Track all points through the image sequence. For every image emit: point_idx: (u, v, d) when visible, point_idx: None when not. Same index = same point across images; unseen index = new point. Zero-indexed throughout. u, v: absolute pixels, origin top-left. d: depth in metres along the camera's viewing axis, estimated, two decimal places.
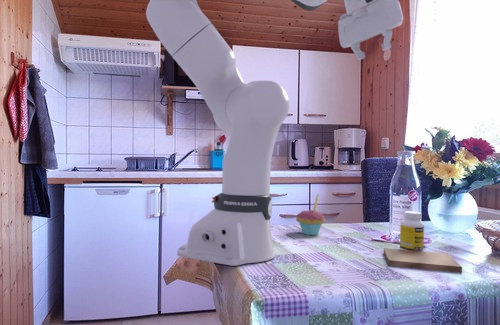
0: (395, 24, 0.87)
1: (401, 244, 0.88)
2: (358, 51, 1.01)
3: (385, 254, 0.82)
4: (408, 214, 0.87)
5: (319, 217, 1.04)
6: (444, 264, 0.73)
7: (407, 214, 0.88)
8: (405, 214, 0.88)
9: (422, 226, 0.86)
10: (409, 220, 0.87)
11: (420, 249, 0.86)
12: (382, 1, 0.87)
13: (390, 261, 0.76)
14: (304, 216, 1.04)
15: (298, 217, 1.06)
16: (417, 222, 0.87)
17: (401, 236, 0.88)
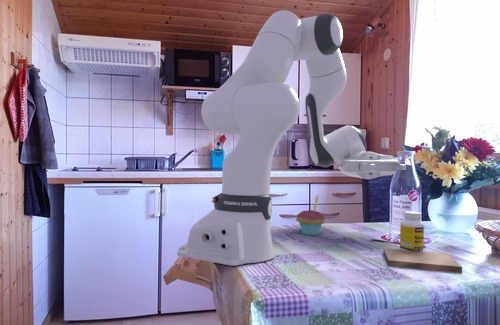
0: None
1: (401, 244, 0.88)
2: None
3: (385, 254, 0.82)
4: (408, 214, 0.87)
5: (319, 217, 1.04)
6: (444, 264, 0.73)
7: (407, 214, 0.88)
8: (405, 214, 0.88)
9: (422, 226, 0.86)
10: (409, 220, 0.87)
11: (420, 249, 0.86)
12: (395, 158, 1.12)
13: (390, 261, 0.76)
14: (304, 216, 1.04)
15: (298, 217, 1.06)
16: (417, 222, 0.87)
17: (401, 236, 0.88)
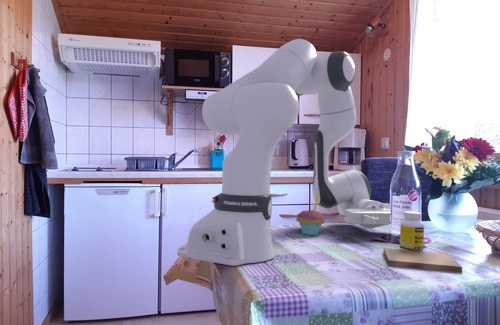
0: None
1: (401, 244, 0.88)
2: None
3: (385, 254, 0.82)
4: (408, 214, 0.87)
5: (319, 217, 1.04)
6: (444, 264, 0.73)
7: (407, 214, 0.88)
8: (405, 214, 0.88)
9: (422, 226, 0.86)
10: (409, 220, 0.87)
11: (420, 249, 0.86)
12: None
13: (390, 261, 0.76)
14: (304, 216, 1.04)
15: (298, 217, 1.06)
16: (417, 222, 0.87)
17: (401, 236, 0.88)
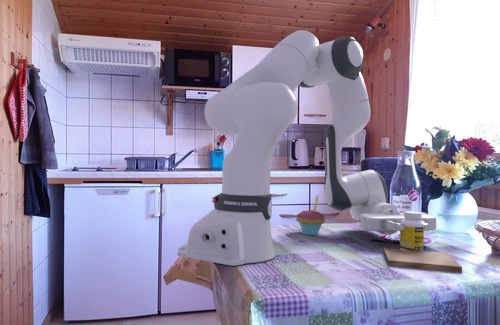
0: None
1: (401, 244, 0.88)
2: None
3: (385, 254, 0.82)
4: (408, 214, 0.87)
5: (319, 217, 1.04)
6: (444, 264, 0.73)
7: (407, 214, 0.88)
8: (405, 214, 0.88)
9: (422, 226, 0.86)
10: (409, 220, 0.87)
11: (420, 249, 0.86)
12: None
13: (390, 261, 0.76)
14: (304, 216, 1.04)
15: (298, 217, 1.06)
16: (417, 221, 0.87)
17: (401, 236, 0.88)
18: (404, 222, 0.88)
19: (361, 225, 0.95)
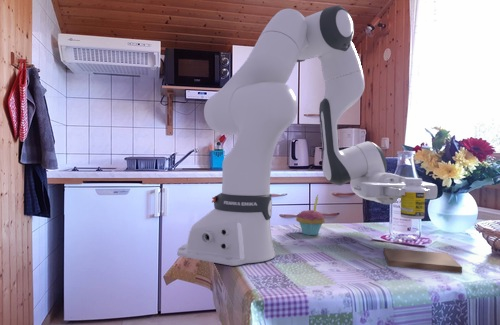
0: None
1: (402, 210, 0.88)
2: None
3: (385, 254, 0.82)
4: (409, 180, 0.87)
5: (319, 217, 1.04)
6: (444, 264, 0.73)
7: (408, 180, 0.87)
8: (406, 180, 0.87)
9: (423, 191, 0.86)
10: (410, 186, 0.87)
11: (421, 214, 0.85)
12: None
13: (390, 261, 0.76)
14: (304, 216, 1.04)
15: (298, 217, 1.06)
16: (417, 187, 0.86)
17: (402, 203, 0.88)
18: (405, 188, 0.87)
19: (361, 193, 0.94)
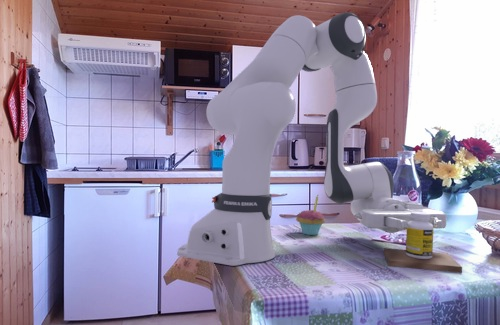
0: (446, 217, 0.84)
1: (408, 249, 0.79)
2: None
3: (385, 254, 0.82)
4: (415, 215, 0.78)
5: (319, 217, 1.04)
6: (444, 264, 0.73)
7: (414, 215, 0.78)
8: (412, 215, 0.79)
9: (431, 228, 0.77)
10: (417, 222, 0.78)
11: (429, 254, 0.77)
12: (426, 207, 0.90)
13: (390, 261, 0.76)
14: (304, 216, 1.04)
15: (298, 217, 1.06)
16: (425, 223, 0.77)
17: (408, 240, 0.79)
18: (411, 224, 0.78)
19: (363, 222, 0.85)
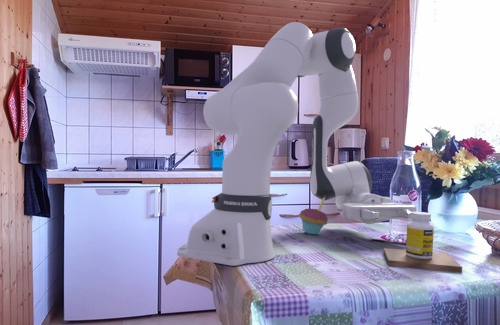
0: None
1: (408, 248, 0.79)
2: None
3: (385, 254, 0.82)
4: (416, 215, 0.78)
5: (322, 218, 1.04)
6: (444, 264, 0.73)
7: (415, 215, 0.78)
8: (412, 215, 0.79)
9: (431, 228, 0.77)
10: (417, 222, 0.78)
11: (429, 254, 0.77)
12: None
13: (390, 261, 0.76)
14: (308, 214, 1.04)
15: (301, 214, 1.06)
16: (425, 223, 0.77)
17: (408, 240, 0.79)
18: (411, 224, 0.78)
19: (343, 214, 0.97)
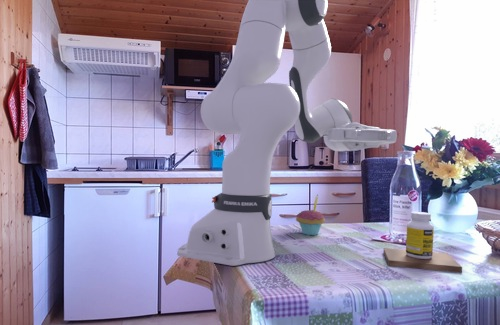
0: (396, 133, 1.04)
1: (408, 248, 0.79)
2: None
3: (385, 254, 0.82)
4: (416, 215, 0.78)
5: (319, 217, 1.04)
6: (444, 264, 0.73)
7: (415, 215, 0.78)
8: (412, 215, 0.79)
9: (431, 228, 0.77)
10: (417, 222, 0.78)
11: (429, 254, 0.77)
12: (382, 129, 1.10)
13: (390, 261, 0.76)
14: (304, 216, 1.04)
15: (298, 217, 1.06)
16: (425, 223, 0.77)
17: (408, 240, 0.79)
18: (411, 224, 0.78)
19: (328, 138, 1.05)
